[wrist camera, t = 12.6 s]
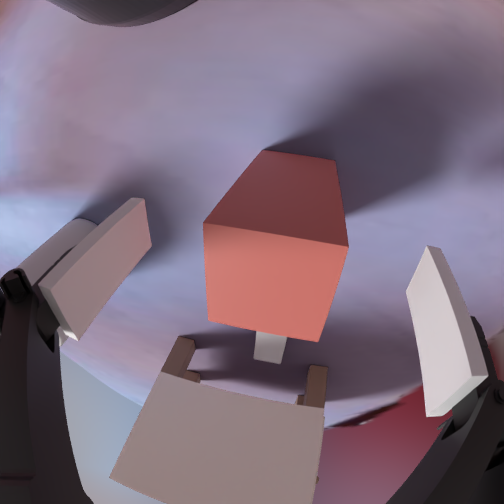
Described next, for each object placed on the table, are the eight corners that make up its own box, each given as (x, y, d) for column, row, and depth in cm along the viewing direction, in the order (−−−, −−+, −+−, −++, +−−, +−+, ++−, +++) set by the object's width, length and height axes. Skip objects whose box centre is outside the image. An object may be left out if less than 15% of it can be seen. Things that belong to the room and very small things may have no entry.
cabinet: (178, 335, 33) (109, 477, 17) (338, 368, 30) (318, 533, 14) (187, 376, 38) (138, 491, 23) (318, 404, 36) (296, 531, 20)
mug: (75, 202, 25) (-1, 261, 16) (132, 254, 27) (66, 331, 18) (58, 262, 32) (6, 316, 23) (102, 303, 34) (57, 364, 25)
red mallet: (262, 149, 19) (203, 222, 10) (335, 160, 18) (348, 246, 9) (247, 347, 31) (220, 434, 22) (291, 355, 30) (273, 446, 21)
